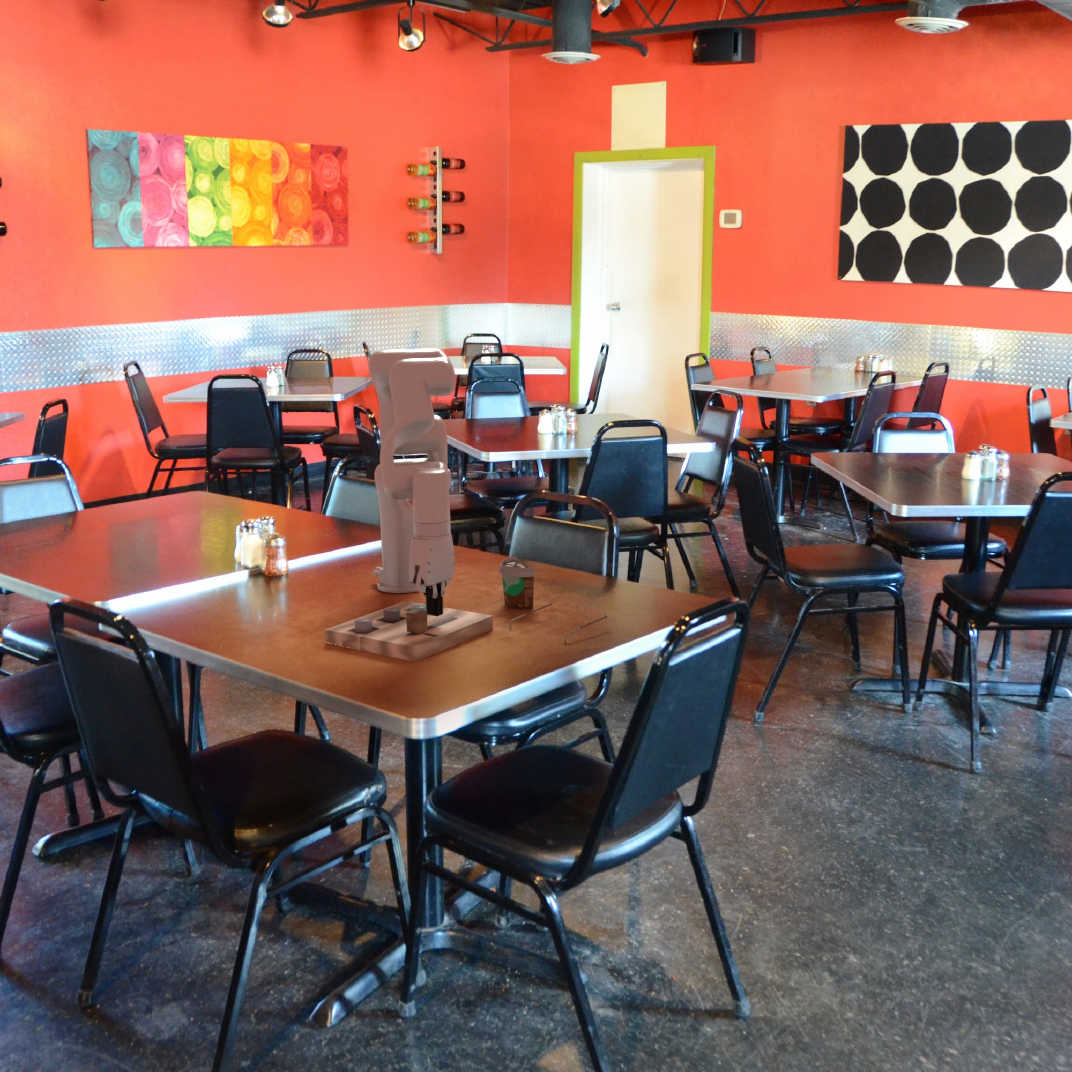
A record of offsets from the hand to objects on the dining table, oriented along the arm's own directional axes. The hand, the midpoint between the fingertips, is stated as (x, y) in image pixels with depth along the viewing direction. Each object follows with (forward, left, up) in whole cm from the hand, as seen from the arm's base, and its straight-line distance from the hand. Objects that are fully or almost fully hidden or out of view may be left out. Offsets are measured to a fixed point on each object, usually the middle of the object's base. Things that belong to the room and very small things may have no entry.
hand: (434, 614), depth 242 cm
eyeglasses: (+18, +20, -6) cm, 28 cm away
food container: (-1, +30, -6) cm, 30 cm away
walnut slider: (0, -6, -2) cm, 7 cm away
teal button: (-11, +8, -5) cm, 14 cm away
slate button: (-11, -10, -3) cm, 15 cm away
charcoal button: (-11, -1, -3) cm, 11 cm away
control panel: (-6, -1, -5) cm, 8 cm away
